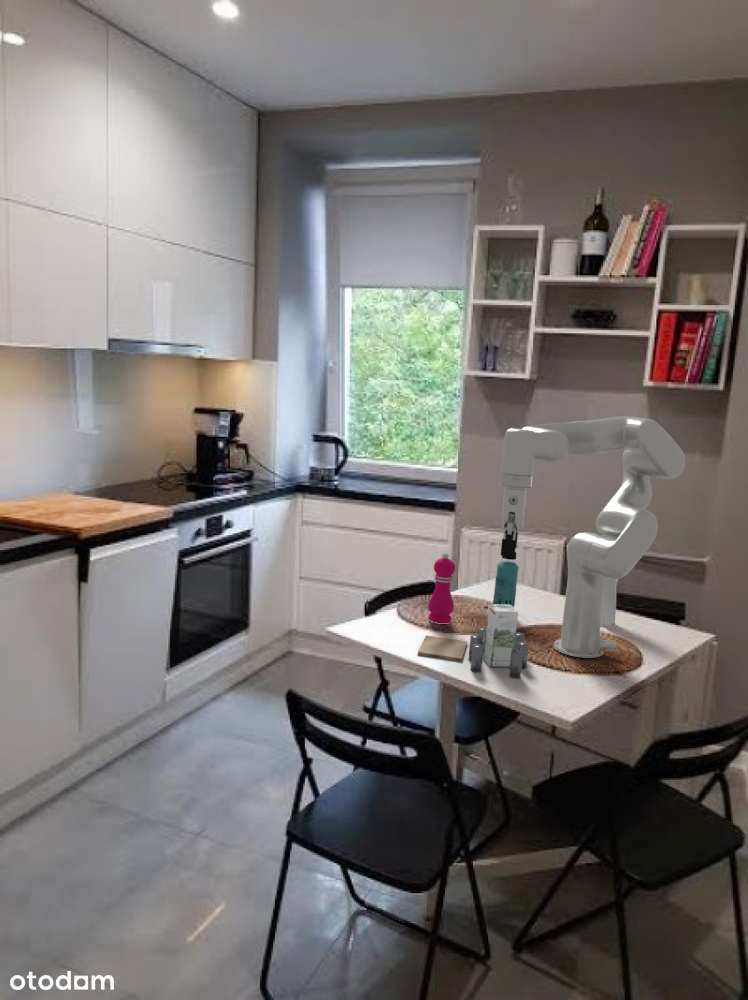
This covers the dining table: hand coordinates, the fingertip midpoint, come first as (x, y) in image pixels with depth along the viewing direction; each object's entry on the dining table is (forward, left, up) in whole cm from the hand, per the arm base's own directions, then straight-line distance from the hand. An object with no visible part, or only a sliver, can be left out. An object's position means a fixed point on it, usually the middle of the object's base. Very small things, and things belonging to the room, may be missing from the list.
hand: (508, 551), depth 181 cm
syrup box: (0, 0, -28) cm, 29 cm away
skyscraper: (-28, -46, -28) cm, 61 cm away
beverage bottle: (+1, -39, -28) cm, 48 cm away
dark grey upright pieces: (0, 0, -28) cm, 28 cm away
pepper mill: (+18, -26, -28) cm, 43 cm away
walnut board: (+14, -4, -28) cm, 32 cm away
